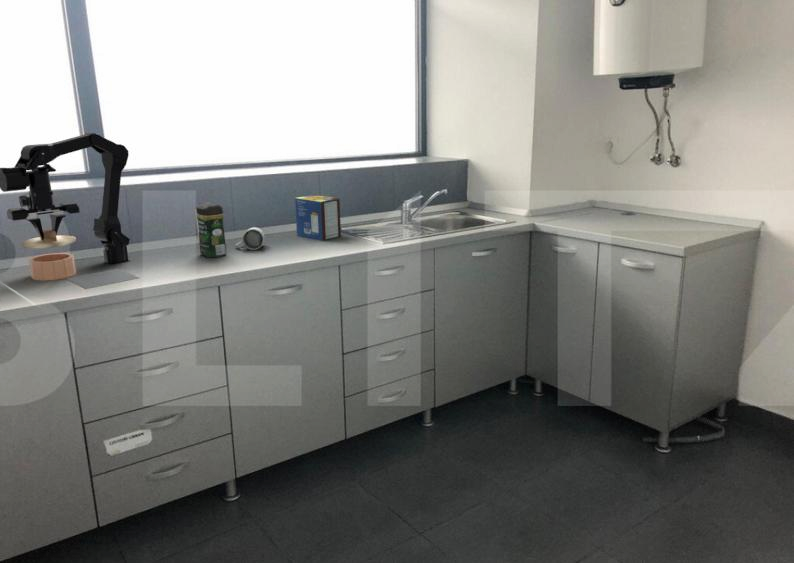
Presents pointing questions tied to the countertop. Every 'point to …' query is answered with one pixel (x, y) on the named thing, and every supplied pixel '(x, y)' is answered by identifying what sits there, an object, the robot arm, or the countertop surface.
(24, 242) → the lid
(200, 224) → the coffee jar
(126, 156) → the robot arm
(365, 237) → the countertop surface
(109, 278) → the mat
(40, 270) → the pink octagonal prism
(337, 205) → the protein box
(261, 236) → the ceramic mug
